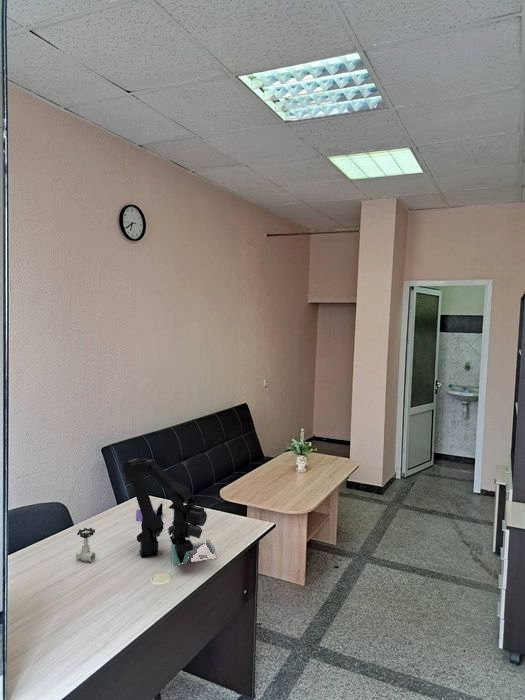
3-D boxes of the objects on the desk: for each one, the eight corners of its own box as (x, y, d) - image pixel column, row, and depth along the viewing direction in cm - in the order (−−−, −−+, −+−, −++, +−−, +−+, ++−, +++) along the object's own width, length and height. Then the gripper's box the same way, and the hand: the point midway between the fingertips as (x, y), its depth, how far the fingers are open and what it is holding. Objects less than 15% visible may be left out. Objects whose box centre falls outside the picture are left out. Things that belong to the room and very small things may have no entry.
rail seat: (190, 563, 187) (190, 555, 187) (182, 547, 200) (183, 540, 200) (217, 559, 191) (217, 551, 191) (208, 544, 204) (208, 536, 204)
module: (173, 566, 184) (173, 549, 184) (171, 561, 188) (171, 544, 187) (188, 564, 186) (188, 547, 186) (185, 559, 190) (186, 542, 190)
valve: (87, 566, 182) (87, 535, 181) (73, 563, 184) (73, 533, 183) (98, 558, 188) (98, 529, 188) (84, 555, 190) (84, 526, 190)
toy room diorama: (159, 525, 221) (159, 511, 221) (133, 524, 221) (134, 510, 221) (165, 515, 233) (165, 502, 233) (141, 514, 233) (141, 501, 233)
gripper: (206, 527, 181) (205, 567, 181) (195, 509, 198) (193, 545, 199) (178, 531, 176) (176, 572, 177) (168, 512, 194) (167, 549, 194)
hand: (179, 559), depth 187 cm, fingers open, 5 cm apart
